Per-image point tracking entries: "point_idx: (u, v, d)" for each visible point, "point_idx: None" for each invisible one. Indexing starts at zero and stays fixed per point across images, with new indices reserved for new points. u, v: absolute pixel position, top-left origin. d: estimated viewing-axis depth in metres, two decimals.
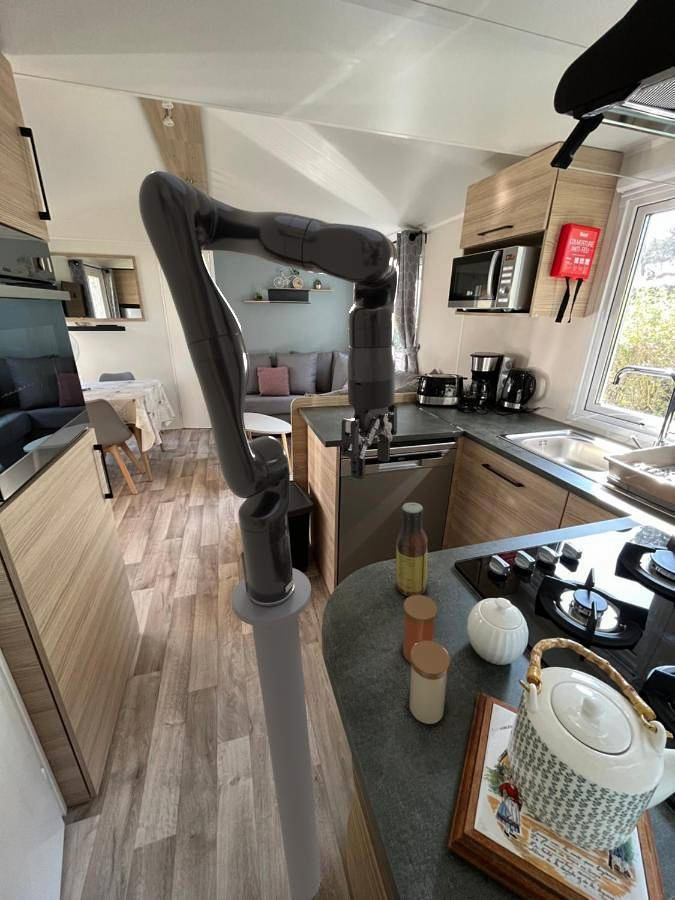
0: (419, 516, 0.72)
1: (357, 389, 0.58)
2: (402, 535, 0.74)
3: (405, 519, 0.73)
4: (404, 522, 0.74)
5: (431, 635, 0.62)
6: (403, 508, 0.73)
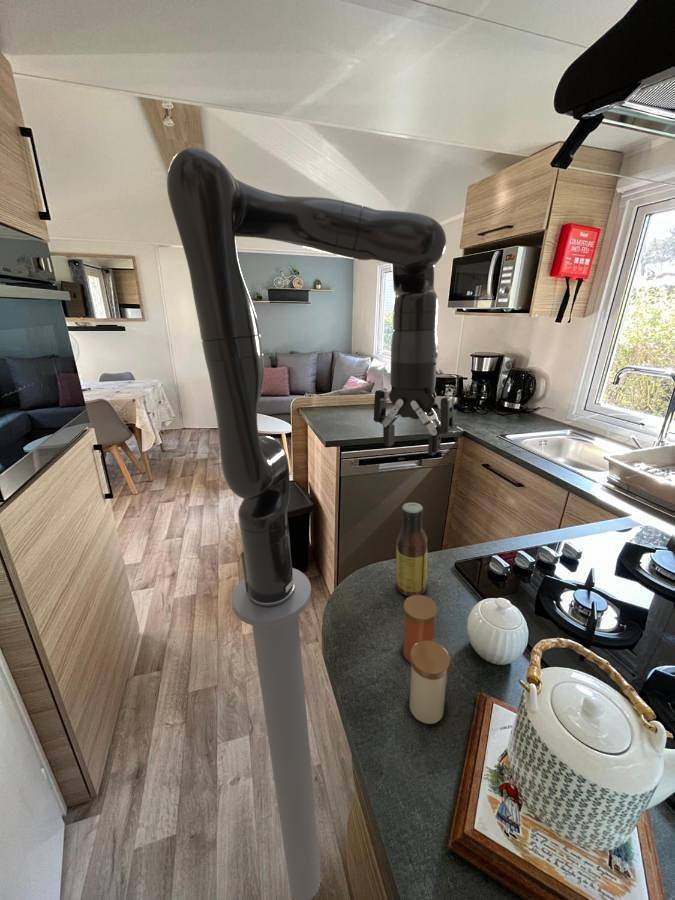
0: (419, 516, 0.72)
1: (433, 370, 0.61)
2: (402, 535, 0.74)
3: (405, 519, 0.73)
4: (404, 522, 0.74)
5: (431, 635, 0.62)
6: (403, 508, 0.73)
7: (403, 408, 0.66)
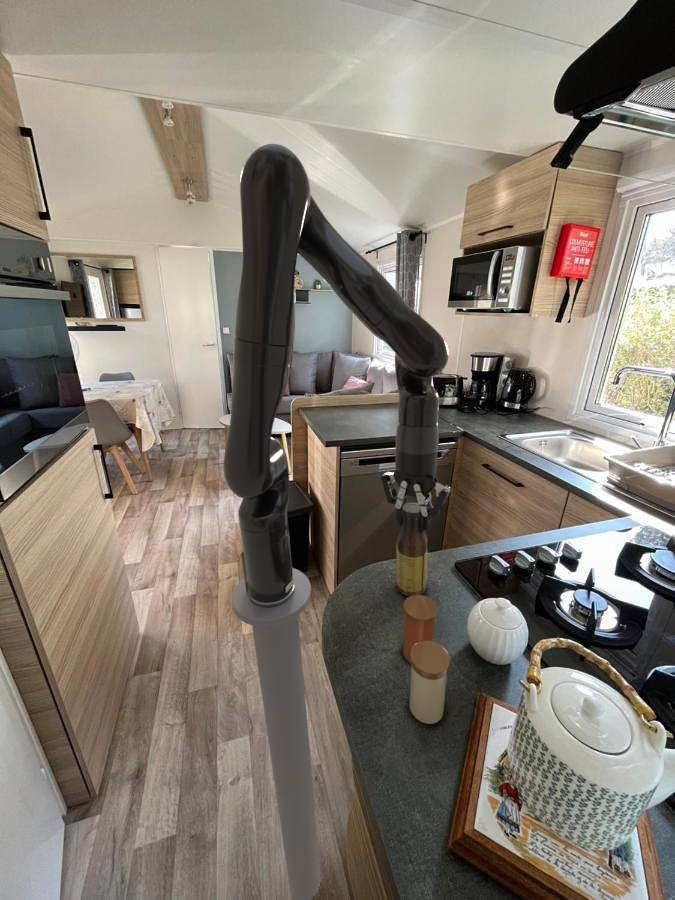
0: (419, 516, 0.72)
1: (435, 458, 0.68)
2: (402, 535, 0.74)
3: (405, 519, 0.73)
4: (404, 522, 0.74)
5: (431, 635, 0.62)
6: (403, 508, 0.73)
7: (407, 488, 0.72)
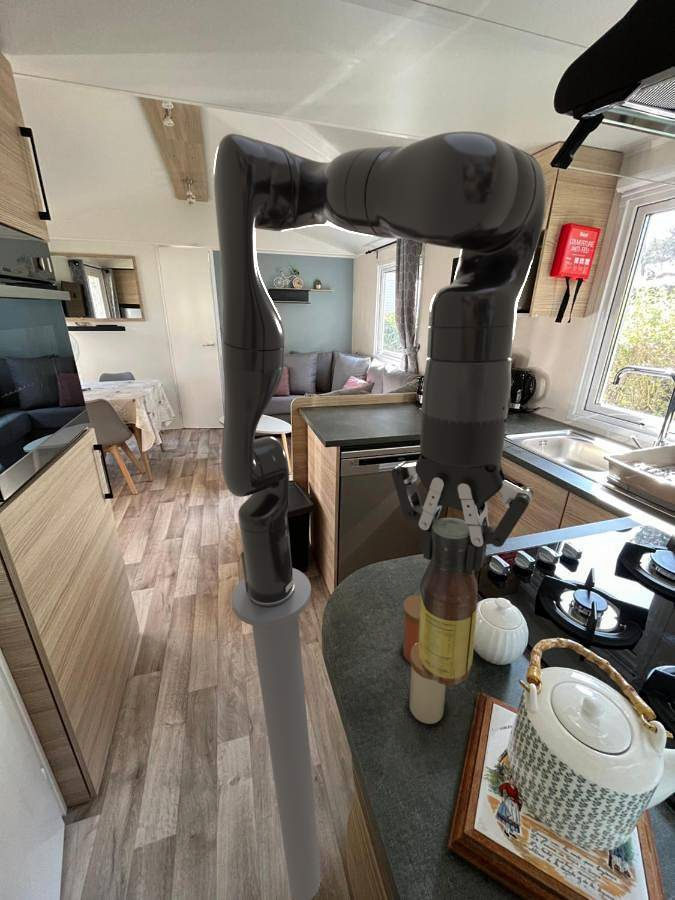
0: (466, 545, 0.38)
1: (503, 432, 0.33)
2: (432, 579, 0.40)
3: (438, 550, 0.39)
4: (436, 555, 0.39)
5: None
6: (435, 529, 0.39)
7: (442, 491, 0.38)
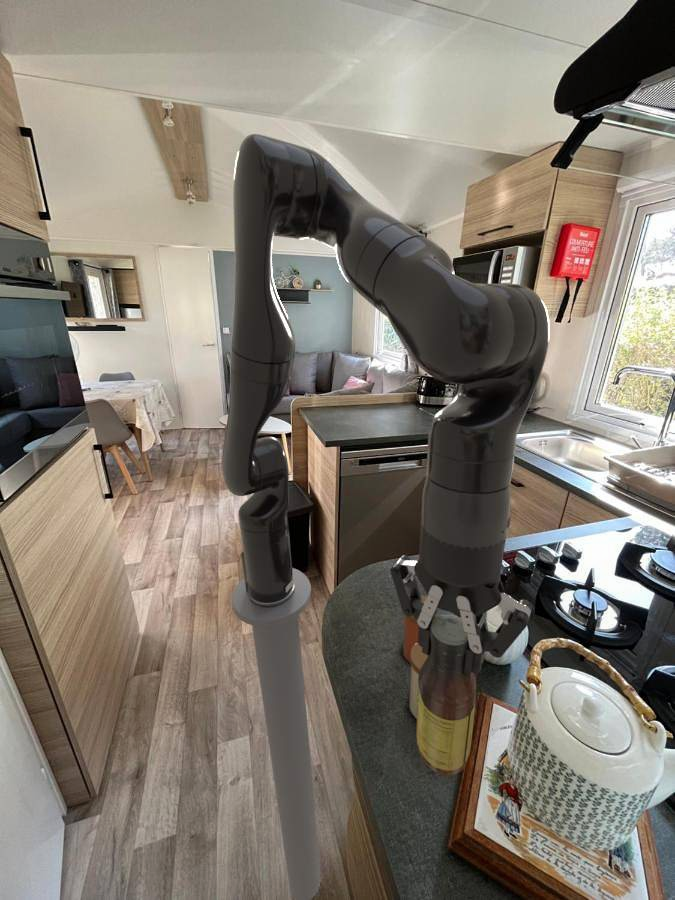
0: (465, 649, 0.38)
1: (502, 551, 0.33)
2: (431, 678, 0.40)
3: (436, 652, 0.39)
4: (435, 655, 0.39)
5: None
6: (433, 631, 0.39)
7: (441, 596, 0.38)
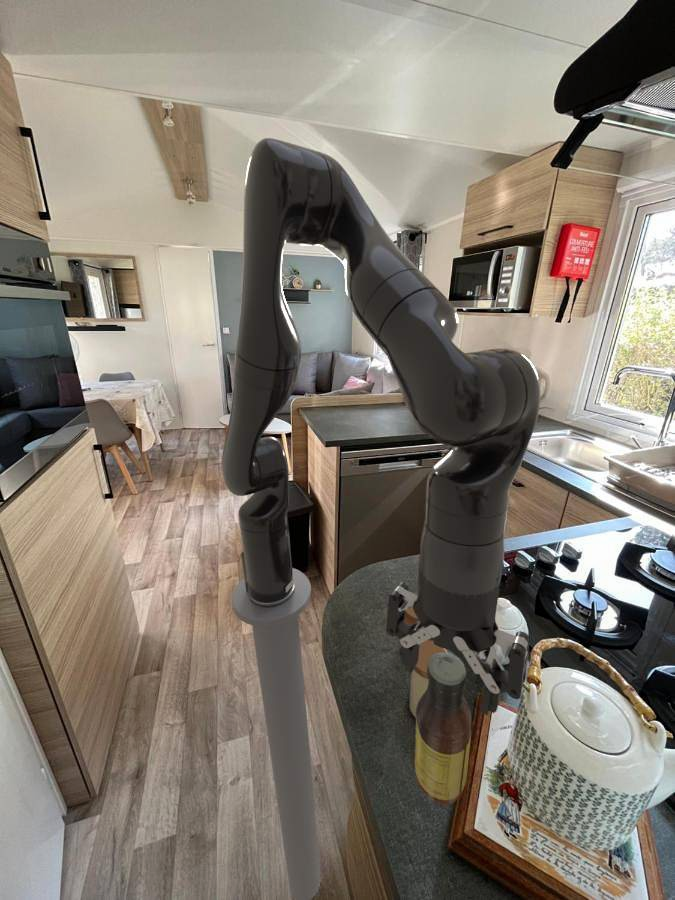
0: (460, 688, 0.40)
1: (497, 596, 0.35)
2: (428, 713, 0.42)
3: (433, 690, 0.41)
4: (432, 693, 0.41)
5: None
6: (430, 670, 0.41)
7: (438, 635, 0.39)
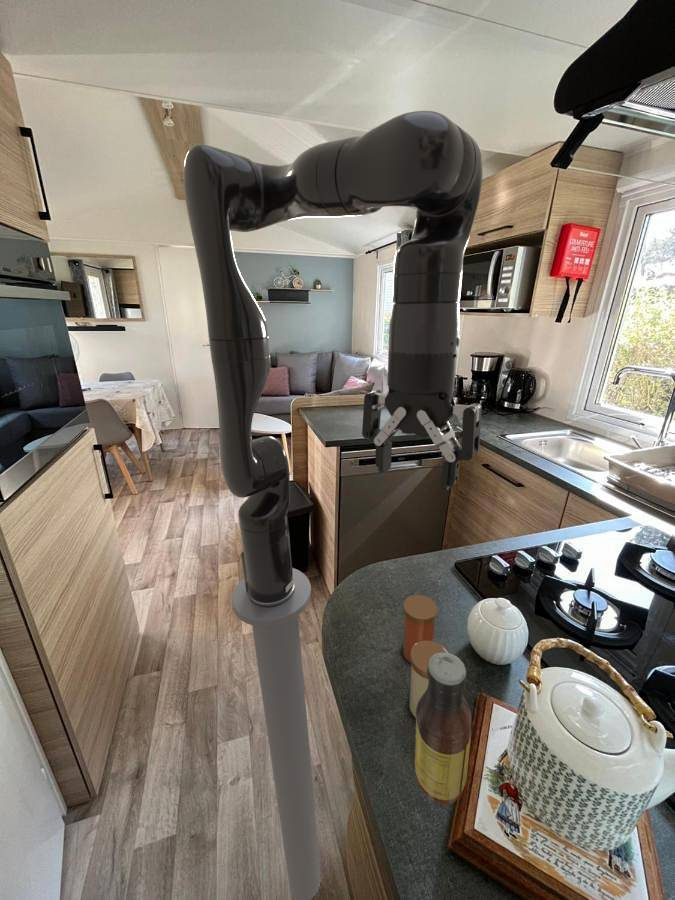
0: (460, 688, 0.40)
1: (453, 365, 0.40)
2: (428, 714, 0.42)
3: (433, 690, 0.41)
4: (432, 693, 0.41)
5: (431, 635, 0.62)
6: (430, 670, 0.41)
7: (405, 420, 0.45)
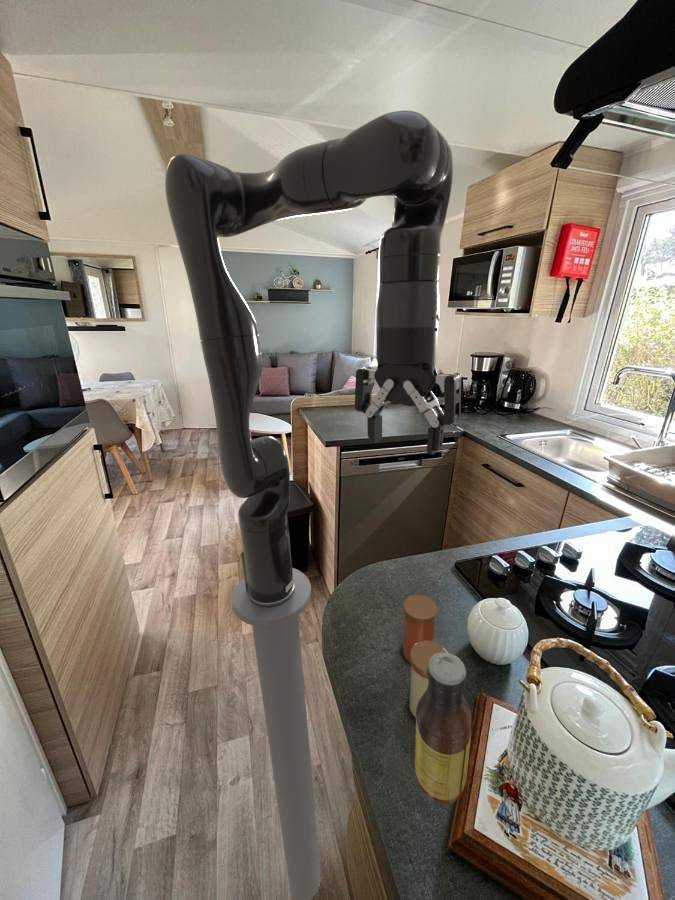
0: (460, 688, 0.40)
1: (434, 338, 0.45)
2: (428, 713, 0.42)
3: (433, 690, 0.41)
4: (432, 693, 0.41)
5: (431, 635, 0.62)
6: (430, 670, 0.41)
7: (393, 392, 0.49)
